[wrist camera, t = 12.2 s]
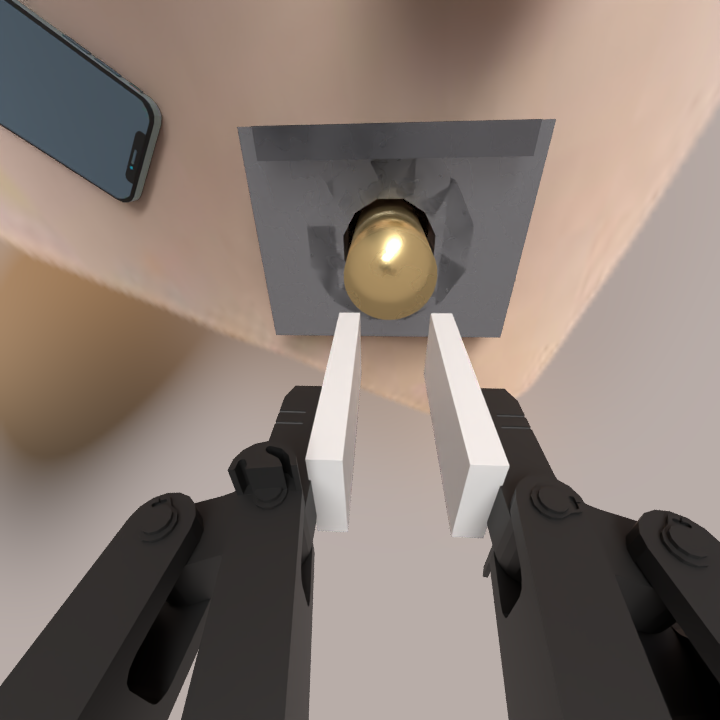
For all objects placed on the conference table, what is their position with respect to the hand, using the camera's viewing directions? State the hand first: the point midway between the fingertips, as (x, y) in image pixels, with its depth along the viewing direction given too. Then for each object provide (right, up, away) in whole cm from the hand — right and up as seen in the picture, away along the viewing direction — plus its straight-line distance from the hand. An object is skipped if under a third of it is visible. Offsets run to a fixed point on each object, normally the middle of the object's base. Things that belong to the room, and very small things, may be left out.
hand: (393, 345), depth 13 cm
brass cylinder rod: (+1, +9, +14) cm, 17 cm away
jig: (+1, +9, +14) cm, 17 cm away
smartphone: (-23, +18, +10) cm, 31 cm away
